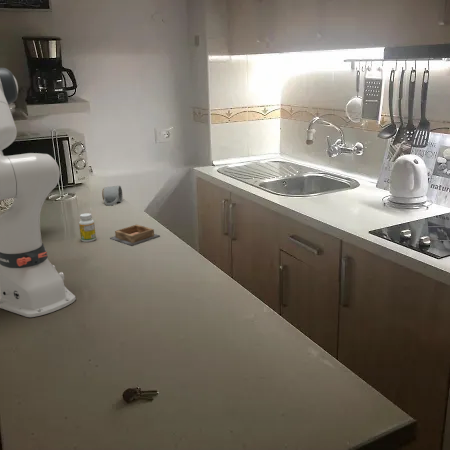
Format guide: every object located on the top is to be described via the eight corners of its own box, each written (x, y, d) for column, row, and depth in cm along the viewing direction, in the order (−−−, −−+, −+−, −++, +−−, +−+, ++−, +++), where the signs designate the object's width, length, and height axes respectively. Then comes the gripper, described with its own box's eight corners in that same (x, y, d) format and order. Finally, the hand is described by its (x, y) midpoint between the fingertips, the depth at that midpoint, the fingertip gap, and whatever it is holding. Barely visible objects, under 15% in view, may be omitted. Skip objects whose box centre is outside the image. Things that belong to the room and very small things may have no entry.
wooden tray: (160, 236, 189) (159, 229, 189) (131, 246, 180) (131, 238, 180) (138, 230, 198) (137, 222, 197) (109, 238, 189) (109, 231, 188)
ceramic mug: (106, 200, 245) (104, 184, 242) (123, 199, 244) (121, 183, 242) (100, 206, 234) (99, 190, 232) (118, 205, 234) (117, 189, 232)
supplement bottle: (96, 241, 187) (93, 215, 184) (81, 243, 185) (78, 217, 183) (95, 236, 192) (92, 212, 189) (80, 238, 190) (77, 213, 187)
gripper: (-4, 175, 176) (33, 181, 174) (29, 160, 195) (63, 166, 192) (-3, 192, 178) (34, 199, 176) (30, 176, 197) (63, 182, 195)
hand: (49, 182), depth 185 cm, fingers open, 8 cm apart
